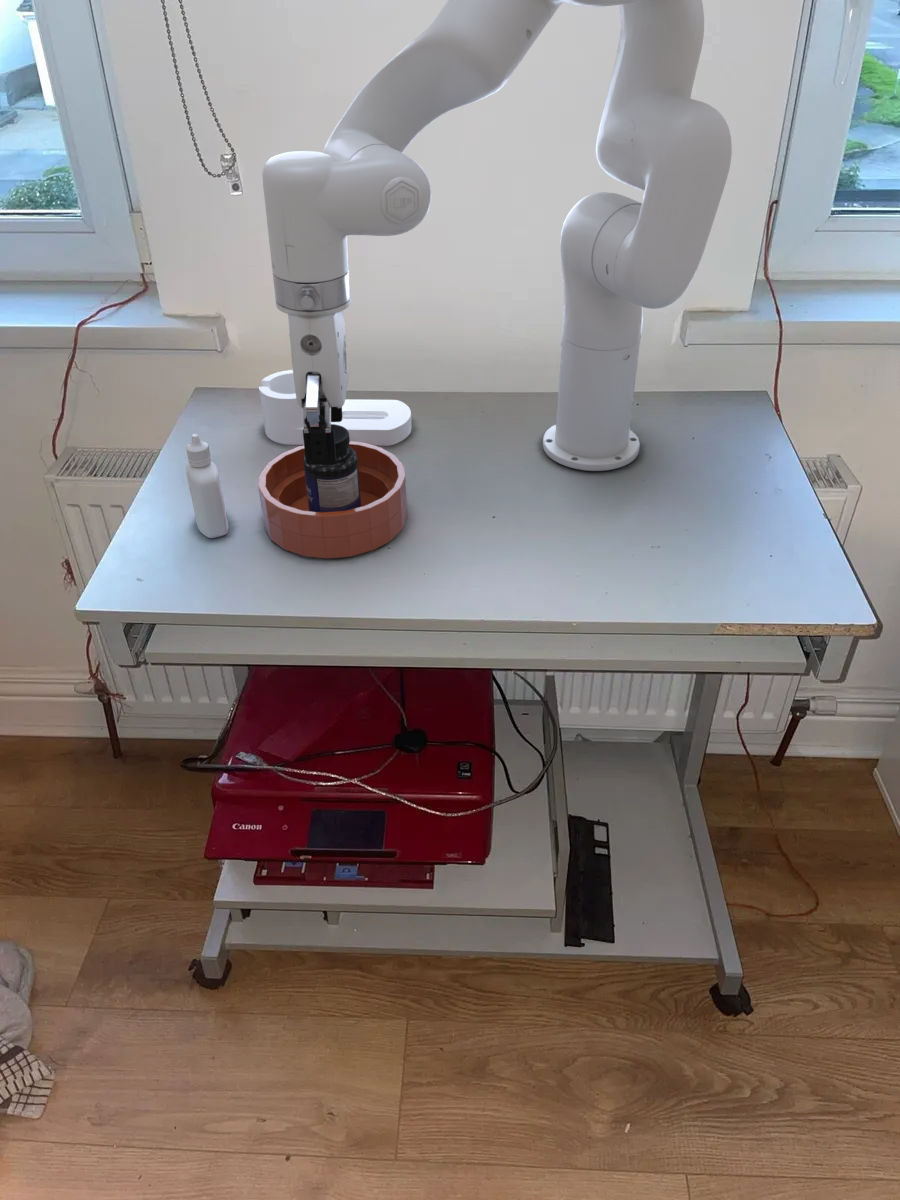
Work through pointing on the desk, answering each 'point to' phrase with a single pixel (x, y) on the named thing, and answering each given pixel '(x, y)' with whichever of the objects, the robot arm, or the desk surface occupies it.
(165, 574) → the desk surface
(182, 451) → the desk surface
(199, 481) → the eye dropper bottle
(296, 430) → the bracket
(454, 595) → the desk surface
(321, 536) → the bowl
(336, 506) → the pill bottle
